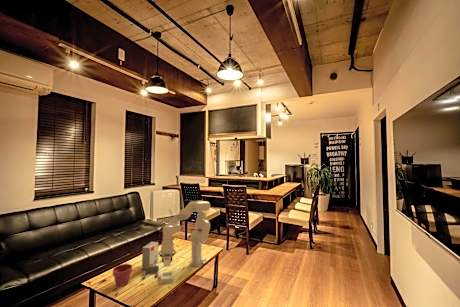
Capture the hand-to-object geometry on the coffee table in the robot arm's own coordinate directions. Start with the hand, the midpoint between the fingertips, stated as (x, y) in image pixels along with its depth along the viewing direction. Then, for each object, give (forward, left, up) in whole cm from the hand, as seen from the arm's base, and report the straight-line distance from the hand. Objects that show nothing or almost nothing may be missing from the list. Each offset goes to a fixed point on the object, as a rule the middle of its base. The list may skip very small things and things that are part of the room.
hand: (167, 261), depth 185 cm
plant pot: (+35, -1, -15) cm, 38 cm away
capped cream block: (0, 0, -2) cm, 2 cm away
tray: (0, 0, -14) cm, 14 cm away
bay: (+14, -10, -14) cm, 22 cm away
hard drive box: (+17, -27, -15) cm, 35 cm away
